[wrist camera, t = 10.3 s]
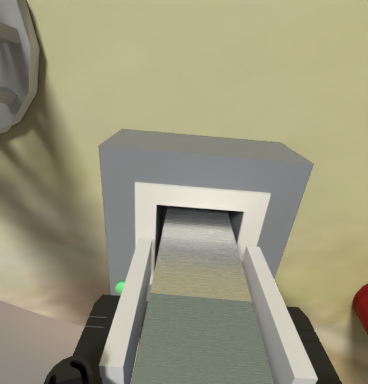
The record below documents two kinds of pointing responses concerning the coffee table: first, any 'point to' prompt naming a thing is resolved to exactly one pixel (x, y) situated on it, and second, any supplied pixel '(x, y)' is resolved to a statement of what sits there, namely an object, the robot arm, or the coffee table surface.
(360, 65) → the coffee table surface
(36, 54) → the grey tall lattice tower
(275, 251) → the port
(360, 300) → the plastic cup
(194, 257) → the plug
